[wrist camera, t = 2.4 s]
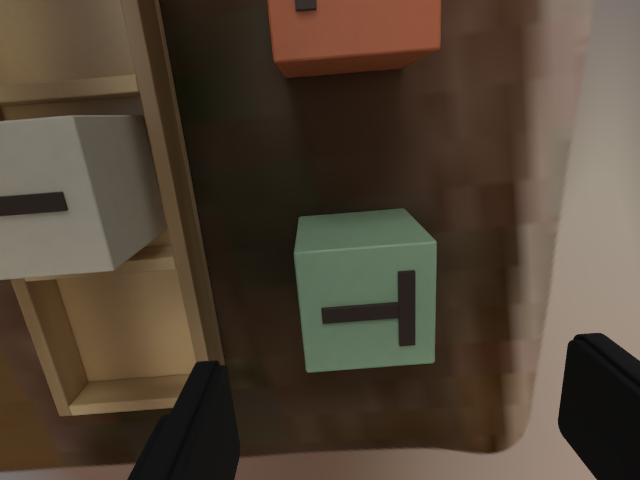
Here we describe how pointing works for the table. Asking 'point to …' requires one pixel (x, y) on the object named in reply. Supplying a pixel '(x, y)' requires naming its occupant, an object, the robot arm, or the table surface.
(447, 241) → the table surface
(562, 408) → the robot arm
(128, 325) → the wooden tray
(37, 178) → the ivory block
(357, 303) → the sage block
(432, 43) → the terracotta block
